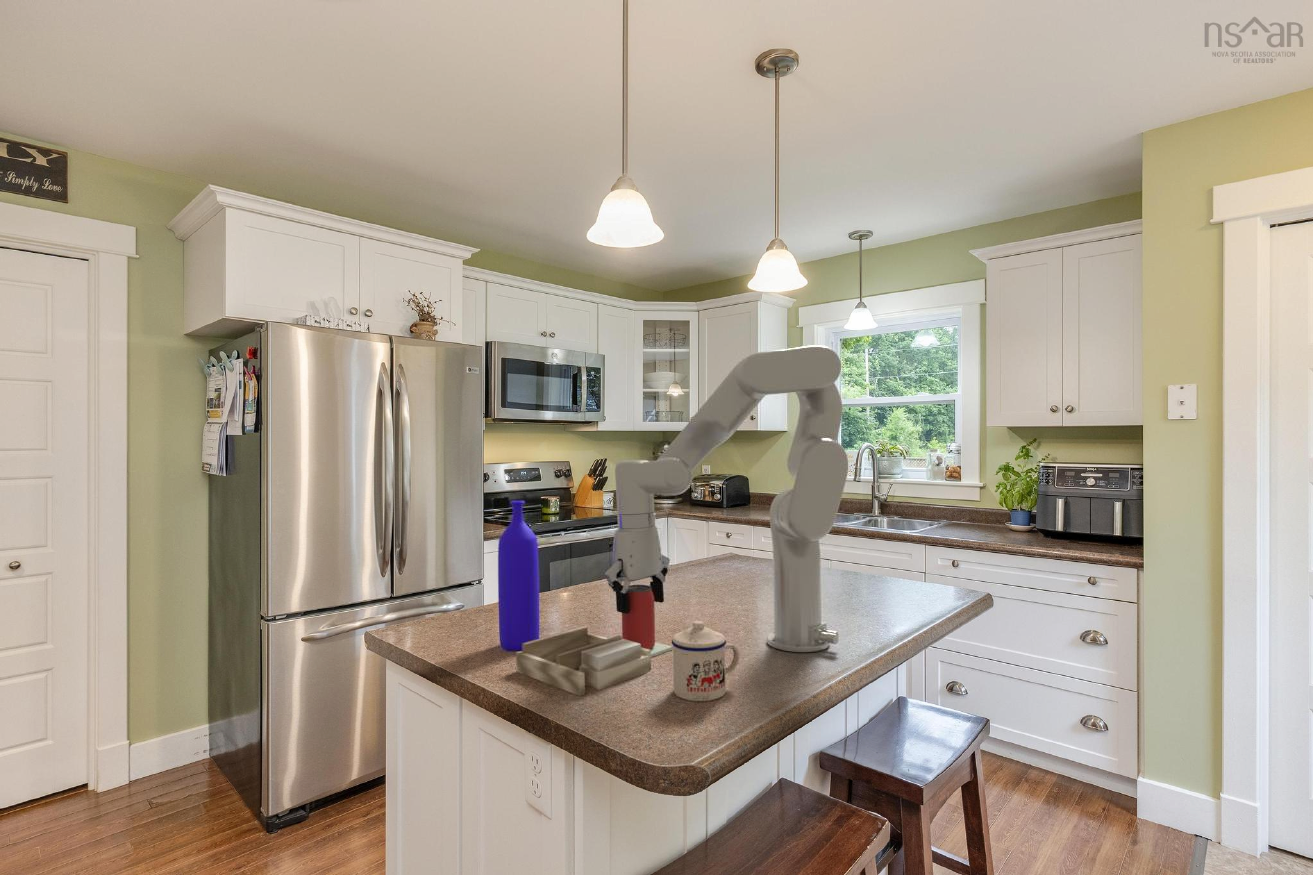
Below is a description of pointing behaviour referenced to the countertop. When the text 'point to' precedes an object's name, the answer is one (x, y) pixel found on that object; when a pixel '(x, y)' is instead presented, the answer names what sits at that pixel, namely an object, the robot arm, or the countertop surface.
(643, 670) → the offcut stack
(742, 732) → the countertop surface
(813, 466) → the robot arm
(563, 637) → the tray
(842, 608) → the countertop surface
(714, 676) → the teacup with lid
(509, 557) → the bottle
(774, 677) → the countertop surface
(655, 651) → the mat
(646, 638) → the beer can
